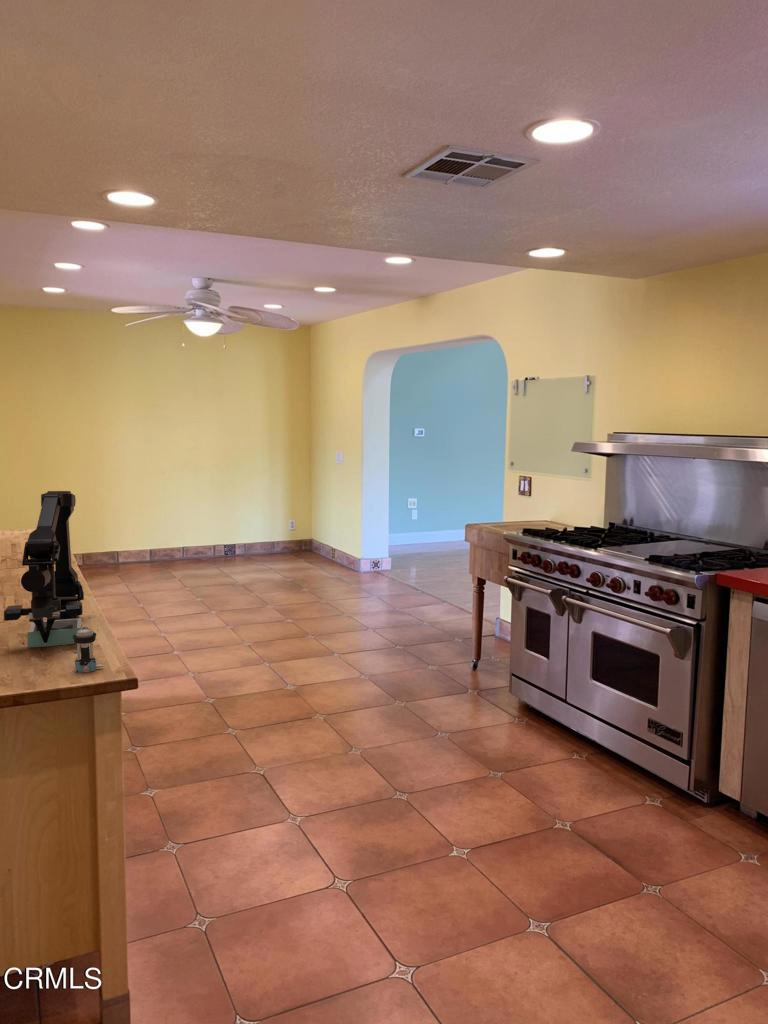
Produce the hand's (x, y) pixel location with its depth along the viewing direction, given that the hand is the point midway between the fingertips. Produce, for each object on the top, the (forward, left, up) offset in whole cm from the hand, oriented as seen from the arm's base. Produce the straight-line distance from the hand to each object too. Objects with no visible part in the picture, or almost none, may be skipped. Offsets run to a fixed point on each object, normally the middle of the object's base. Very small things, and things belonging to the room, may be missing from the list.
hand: (45, 642), depth 203 cm
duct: (-9, +3, -2) cm, 10 cm away
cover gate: (-2, +2, -1) cm, 3 cm away
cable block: (-10, +2, -2) cm, 10 cm away
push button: (+22, +11, -2) cm, 24 cm away
